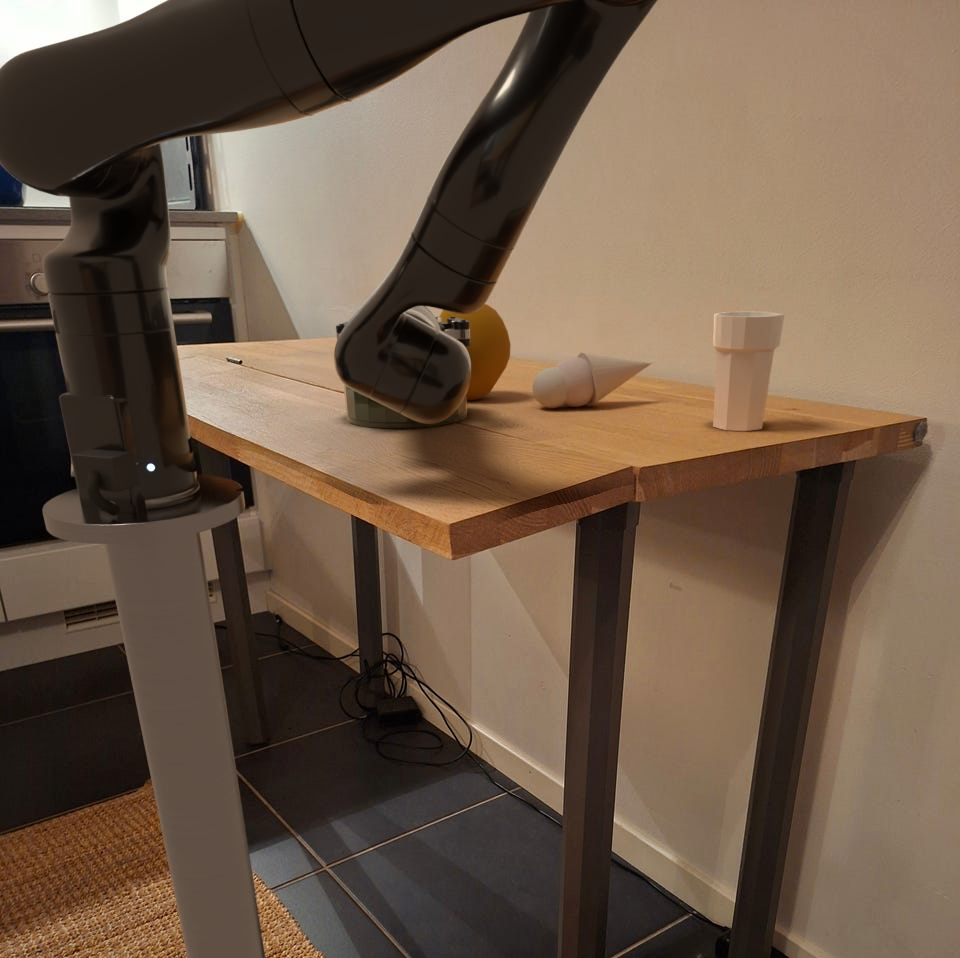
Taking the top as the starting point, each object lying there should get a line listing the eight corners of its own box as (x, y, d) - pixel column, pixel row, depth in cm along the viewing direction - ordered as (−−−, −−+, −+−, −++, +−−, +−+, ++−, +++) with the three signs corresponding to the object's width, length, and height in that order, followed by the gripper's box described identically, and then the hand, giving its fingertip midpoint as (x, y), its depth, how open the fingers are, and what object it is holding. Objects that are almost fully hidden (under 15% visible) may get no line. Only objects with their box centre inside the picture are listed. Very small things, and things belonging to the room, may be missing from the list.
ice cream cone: (657, 399, 108) (540, 429, 106) (637, 362, 111) (522, 390, 108) (668, 363, 103) (545, 394, 100) (647, 325, 105) (526, 354, 103)
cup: (693, 427, 94) (702, 315, 89) (724, 417, 98) (734, 310, 94) (752, 435, 90) (765, 318, 85) (782, 424, 94) (795, 313, 90)
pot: (436, 431, 94) (433, 362, 92) (324, 424, 99) (318, 358, 96) (485, 409, 106) (484, 347, 103) (382, 404, 111) (378, 344, 108)
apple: (525, 396, 114) (526, 297, 109) (475, 407, 107) (472, 302, 103) (468, 389, 120) (466, 295, 115) (417, 399, 113) (412, 299, 108)
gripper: (478, 298, 85) (466, 289, 100) (323, 303, 84) (336, 293, 99) (480, 380, 88) (468, 360, 103) (331, 386, 87) (342, 364, 102)
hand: (403, 327), depth 101 cm, fingers closed on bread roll, 5 cm apart
